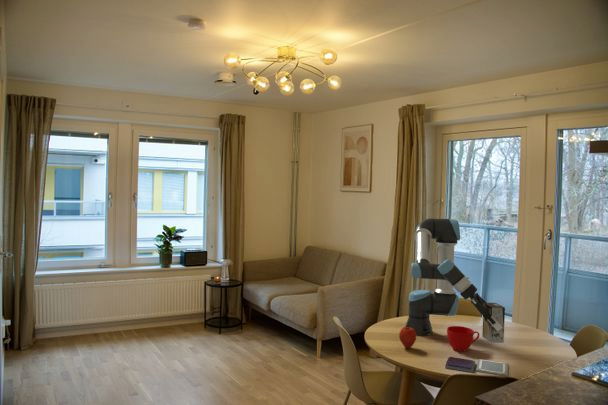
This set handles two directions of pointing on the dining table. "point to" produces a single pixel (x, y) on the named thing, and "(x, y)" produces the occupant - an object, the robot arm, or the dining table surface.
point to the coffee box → (488, 329)
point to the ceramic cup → (460, 337)
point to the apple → (407, 336)
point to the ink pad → (460, 364)
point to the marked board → (492, 367)
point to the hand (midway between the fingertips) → (500, 326)
